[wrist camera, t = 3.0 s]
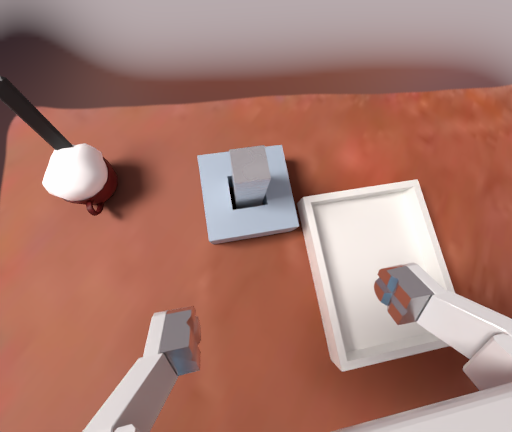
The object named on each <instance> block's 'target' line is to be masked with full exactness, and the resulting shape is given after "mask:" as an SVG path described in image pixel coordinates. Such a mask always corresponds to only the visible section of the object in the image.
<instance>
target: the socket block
mask: <svg viewBox="0 0 512 432" xmlns="http://www.w3.org/2000/svg"><path fill="white" fill-rule="evenodd" d="M265 151H266V156H267V161H268V166H269V171H270V176H271V180H270V182H269V185H268V188H267V191H266V193H265V196H264V199H263V202H262V203H263V205H262V206H256V207H249V208H243V209H236V210H233V209H232V203H231V197H230V190H229V188H231V187H233V182H232V172H231V162H230V152H222V153H214V154H206V155H198V163H199V171H200V178H201V185H202V193H203V200H204V208H205V215H206V222H207V230H208V237H209V242H211V243H212V244H219V243H224V242H230V241H236V240H242V239H248V238H254V237H260V236H266V235H272V234H278V233H284V232H290V231H292V230H294V229H296V228H297V227H299V223H298V218H297V214H296V209H295V204H294V200H293V195H292V190H291V186H290V181H289V176H288V172H287V167H286V162H285V158H284V153H283V148H282V145H276V146H269V147H265Z"/></svg>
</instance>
